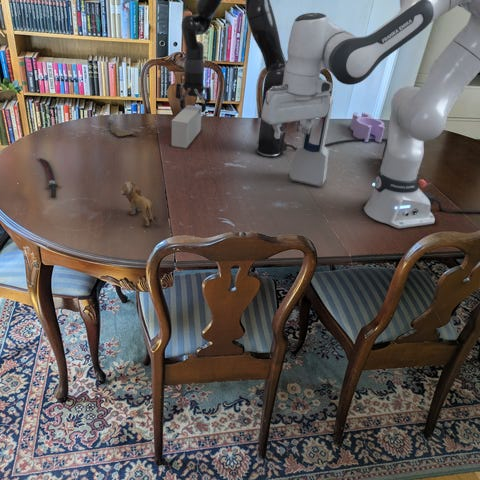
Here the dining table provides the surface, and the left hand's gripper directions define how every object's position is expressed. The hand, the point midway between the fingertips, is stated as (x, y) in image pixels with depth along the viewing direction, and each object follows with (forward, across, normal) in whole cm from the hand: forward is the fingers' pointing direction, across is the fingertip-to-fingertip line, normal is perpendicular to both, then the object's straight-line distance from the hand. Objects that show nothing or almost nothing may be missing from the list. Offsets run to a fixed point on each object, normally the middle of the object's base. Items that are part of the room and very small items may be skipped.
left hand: (193, 110), depth 193 cm
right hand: (-18, +46, -63) cm, 80 cm away
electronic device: (+10, +52, -30) cm, 60 cm away
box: (+9, 0, -8) cm, 12 cm away
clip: (+10, +73, +32) cm, 80 cm away
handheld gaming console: (+10, +82, -7) cm, 83 cm away
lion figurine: (+9, +6, -74) cm, 75 cm away
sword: (+9, -30, -61) cm, 69 cm away
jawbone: (+9, -26, -10) cm, 30 cm away
